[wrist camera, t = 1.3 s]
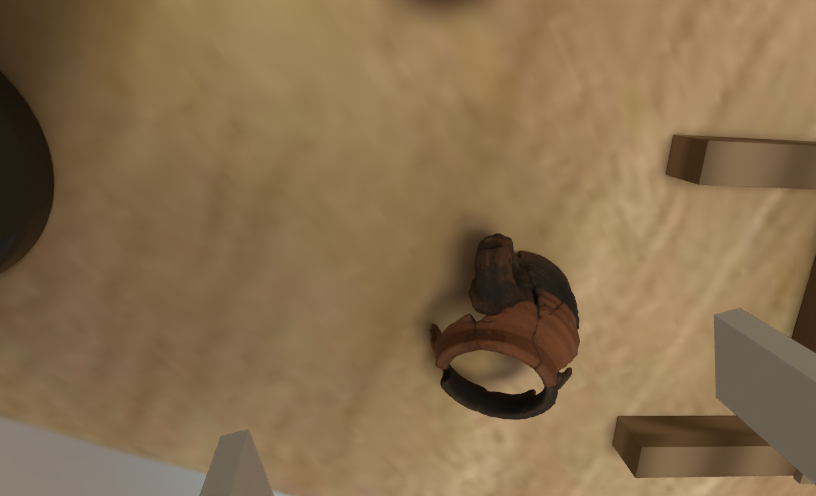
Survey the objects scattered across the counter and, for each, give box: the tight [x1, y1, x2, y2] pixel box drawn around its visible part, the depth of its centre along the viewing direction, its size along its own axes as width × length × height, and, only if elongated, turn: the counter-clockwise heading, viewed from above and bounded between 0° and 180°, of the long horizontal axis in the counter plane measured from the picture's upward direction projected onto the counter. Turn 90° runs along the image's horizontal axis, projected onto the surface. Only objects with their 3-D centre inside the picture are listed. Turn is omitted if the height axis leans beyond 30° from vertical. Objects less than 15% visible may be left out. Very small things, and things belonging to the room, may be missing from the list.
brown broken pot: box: [430, 233, 580, 420], centre depth 33 cm, size 12×10×8 cm
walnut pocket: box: [613, 135, 816, 484], centre depth 35 cm, size 15×23×4 cm, turn 177°
